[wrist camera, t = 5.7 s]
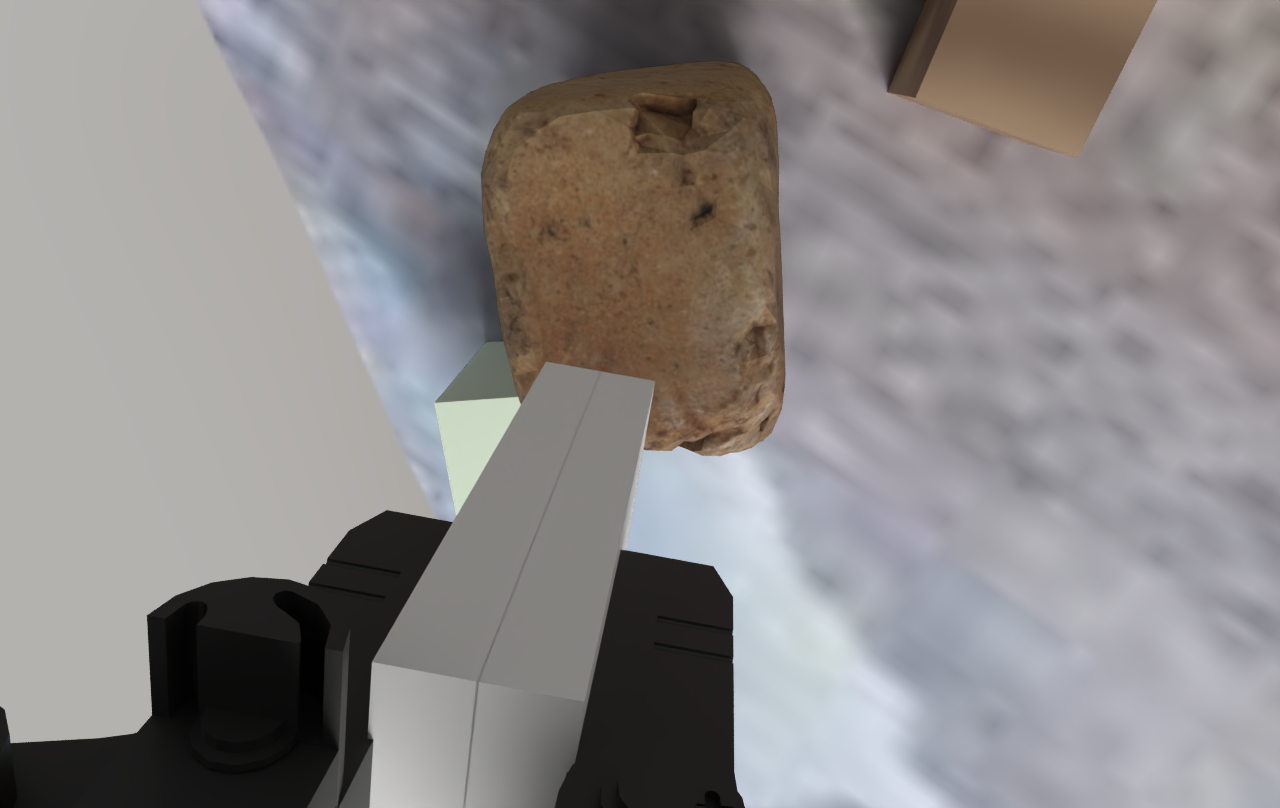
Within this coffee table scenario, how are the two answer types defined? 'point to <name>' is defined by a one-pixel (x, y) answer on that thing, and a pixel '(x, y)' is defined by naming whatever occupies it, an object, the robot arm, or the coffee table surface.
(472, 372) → the green block
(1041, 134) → the walnut block
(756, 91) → the pitted sandstone rock
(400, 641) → the robot arm
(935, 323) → the coffee table surface
